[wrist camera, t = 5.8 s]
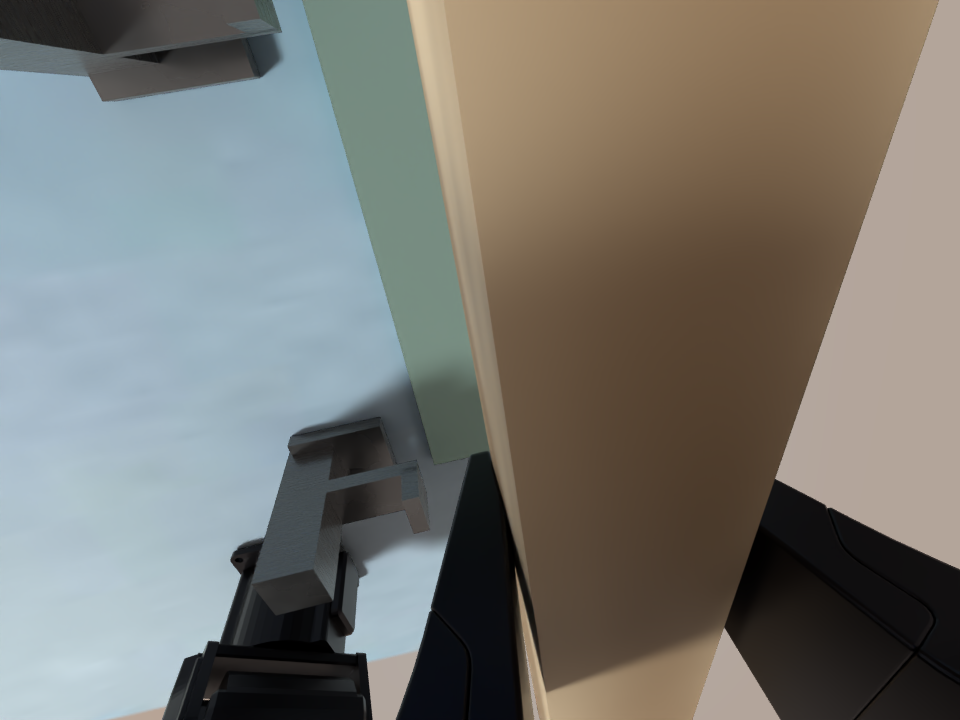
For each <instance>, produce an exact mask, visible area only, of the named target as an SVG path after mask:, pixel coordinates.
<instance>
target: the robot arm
mask: <svg viewBox="0 0 960 720" xmlns="http://www.w3.org/2000/svg"><path fill="white" fill-rule="evenodd" d="M262 545H263V544H261V545H256V546H252V547H248V548H244V549H240V550H236V551H234V552H233V554H232V557H231V560H230V561H231V563H232V564H233V565H234V566H235V568H236V569H237V570H238V571H239V573H240V574H241V577H240V580H239V584H238V587H237V590H236V593H235V596H234V599H233V602H232V606H231V609H230V612H229V615H228V618H227V621H226V624H225V627H224V631H223V634H222V637H221V640H220V643H219V642H217V641H208V643H207V645H206V647H205V649H204V651H203V653H198V654H197V655H194V656H191V657H188V658H185V659H184V661H183V664H182V666H181V669H180V672H179V674H178V677H177V680H176V682H175V685H174V688H173V690H172V693H171V696H170V699H169V701H168V704H167V707H166V710H165V712H164V715H163V718H162V720H372V709H371V700H370V689H369V680H368V670H367V659H366V653H356V654H345V653H344V650H345V639H346V636H348V635H351V634H352V633H353V631H354V628H355V614H356V601H357V587H358V586H359V578H358V571H357V569H356V567H355V565H354V563H353V561H352V560H351V558H350V556H349V554H348V553H347V552H346V551H344V550H343V548H342V546H341V544H340V549H339V557H338V565H337V574H336V582H335V591H334V599H333V601H332V602H328V603H324V604H320V605H316V606H312V607H308V608H304V609H300V610H296V611H292V612H288V613H284V614H280V615H275V614H274V613H273V611H272V610H271V609H270V608H269V606H268V605H267V604H266V602H265V601H264V600H263V599H262V597H261V596H260V595H259V594H258V592H257V591H256V590H255V589H254V587H253V586H252V585H251V583H252V579H253V576H254V573H255V569H256V566H257V562H258V559H259V556H260V552H261V549H262ZM431 610H432V611H430V612H429V615H428V619H427V623H426V627H425V631H424V635H423V638H422V642H421V645H420V648H419V652H418V656H417V659H416V662H415V666H414V669H413V672H412V675H411V678H410V681H409V684H408V687H407V689H406V692H405V695H404V698H403V701H402V704H401V707H400V710H399V712H398V715H397V717H396V720H534V715H533V708H532V699H531V691H530V683H529V675H528V667H527V659H526V651H525V643H524V635H523V627H522V619H521V611H520V603H519V595H518V587H517V579H516V571H515V564H514V558H513V553H512V547H511V541H510V536H509V530H508V524H507V519H506V513H505V507H504V502H503V498H502V495H501V491H500V488H499V485H498V481H497V478H496V474H495V471H494V467H493V464H492V461H491V455H490V452H489V451H482V452H478V453H474V454H471V455H470V457H469V461H468V465H467V469H466V472H465V476H464V480H463V484H462V488H461V492H460V496H459V500H458V504H457V507H456V511H455V515H454V519H453V523H452V527H451V531H450V535H449V538H448V542H447V546H446V550H445V554H444V558H443V562H442V566H441V570H440V573H439V577H438V581H437V585H436V589H435V593H434V597H433V601H432V604H431ZM724 628H725V629H726V631H727V632H728V634H729V636H730V638H731V639H732V641H733V642H734V644H735V646H736V647H737V649H738V651H739V652H740V654H741V655H742V657H743V659H744V660H745V662H746V664H747V665H748V667H749V669H750V670H751V672H752V674H753V675H754V677H755V678H756V680H757V682H758V683H759V685H760V687H761V688H762V690H763V692H764V693H765V695H766V697H767V698H768V700H769V701H770V703H771V705H772V706H773V708H774V710H775V711H776V713H777V715H778V716H779V718H780V719H781V720H960V569H958V568H955V567H953V566H951V565H949V564H946V563H944V562H942V561H940V560H937V559H935V558H933V557H931V556H929V555H926V554H924V553H922V552H920V551H918V550H915V549H914V548H911V547H909V546H907V545H905V544H903V543H901V542H898V541H896V540H894V539H892V538H890V537H888V536H886V535H884V534H882V533H879V532H878V531H876V530H874V529H872V528H870V527H868V526H866V525H864V524H862V523H860V522H858V521H856V520H854V519H852V518H850V517H848V516H846V515H844V514H842V513H840V512H838V511H837V510H835V509H833V508H827V507H826V505H824V504H822V503H821V502H819V501H817V500H815V499H813V498H811V497H809V496H807V495H805V494H803V493H801V492H799V491H797V490H796V489H794V488H792V487H790V486H788V485H786V484H784V483H782V482H780V481H778V480H776V479H775V480H774V483H773V486H772V489H771V492H770V495H769V497H768V500H767V503H766V506H765V509H764V512H763V515H762V518H761V521H760V524H759V527H758V530H757V532H756V535H755V538H754V541H753V544H752V547H751V550H750V553H749V556H748V559H747V562H746V565H745V567H744V570H743V573H742V576H741V579H740V582H739V585H738V588H737V591H736V594H735V597H734V600H733V602H732V605H731V608H730V611H729V614H728V617H727V620H726V623H725V626H724ZM203 698H204V699H210V700H203Z"/></svg>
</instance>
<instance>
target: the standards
mask: <svg viewBox="0 0 960 720" xmlns="http://www.w3.org/2000/svg"><path fill="white" fill-rule="evenodd" d="M280 32H282V31H281V27H280V24H279V21H278V18H277V15H276V11H275V8H274V5H273V2H272V0H0V70H12V71H24V72H37V73H50V74H63V75H76V76H88V77H90V79H91V81H92V83H93V84H94V86H95V88H96V90H97V92H98V94H99V96H100V97H101V99H102V101H121V100H128V99H134V98H140V97H146V96H152V95H159V94H165V93H171V92H177V91H183V90H190V89H196V88H202V87H208V86H214V85H221V84H227V83H233V82H239V81H245V80H252V79H258V78H260V75H259V72H258V69H257V66H256V64H255V61H254V58H253V55H252V52H251V49H250V47H249V44H248V41H247V38H248V37H254V36H261V35H267V34H274V33H280ZM288 449H289V451H290V453H289V457H288V460H287V463H286V467H285V470H284V474H283V477H282V480H281V484H280V487H279V491H278V494H277V498H276V501H275V504H274V508H273V511H272V515H271V518H270V521H269V525H268V528H267V532H266V535H265V538H264V542H263V545H262V549H261V552H260V556H259V559H258V562H257V566H256V569H255V573H254V576H253V579H252V583H251V585H252V586H253V587H254V589H255V590H256V591H257V592H258V594H259V595H260V596H261V597H262V599H263V600H264V601H265V602H266V604H267V605H268V606H269V608H270V609H271V610H272V611H273V613H274V614H275V615H280V614H284V613H288V612H292V611H296V610H300V609H304V608H308V607H312V606H316V605H320V604H324V603H328V602H332V601H333V599H334V591H335V582H336V574H337V565H338V557H339V549H340V540H341V532H342V525H343V524H347V523H351V522H355V521H359V520H363V519H368V518H372V517H376V516H380V515H384V514H389V513H393V512H397V511H401V510H405V511H406V514H407V516H408V519H409V522H410V525H411V527H412V530H413V533H414V534H416V533H420V532H424V531H428V530H430V526H429V514H428V502H427V492H426V489H425V486H424V482H423V479H422V476H421V473H420V470H419V466H418V463H417V460H414V461H410V462H405V463H401V464H397V463H396V461H395V458H394V455H393V452H392V449H391V446H390V444H389V441H388V438H387V435H386V432H385V429H384V427H383V424H382V421H381V418H380V417H378V418H373V419H369V420H364V421H360V422H355V423H351V424H346V425H342V426H337V427H333V428H328V429H324V430H319V431H315V432H310V433H306V434H301V435H297V436H292V437H290V440H289V443H288Z"/></svg>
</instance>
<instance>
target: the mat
mask: <svg viewBox="0 0 960 720" xmlns="http://www.w3.org/2000/svg"><path fill="white" fill-rule="evenodd" d="M302 1H303V5H304V8H305V12H306V15H307V19H308V22H309V26H310V29H311V33H312V36H313V40H314V43H315V47H316V50H317V54H318V57H319V61H320V64H321V68H322V71H323V75H324V78H325V82H326V85H327V89H328V92H329V96H330V99H331V103H332V107H333V110H334V114H335V117H336V121H337V124H338V128H339V131H340V135H341V138H342V142H343V145H344V149H345V152H346V156H347V159H348V163H349V166H350V170H351V173H352V177H353V180H354V184H355V187H356V191H357V194H358V198H359V201H360V205H361V209H362V212H363V216H364V219H365V223H366V226H367V230H368V233H369V237H370V240H371V244H372V247H373V251H374V254H375V258H376V261H377V265H378V268H379V272H380V275H381V279H382V282H383V286H384V289H385V293H386V296H387V300H388V303H389V307H390V311H391V314H392V318H393V321H394V325H395V328H396V332H397V335H398V339H399V342H400V346H401V349H402V353H403V356H404V360H405V363H406V367H407V370H408V374H409V377H410V381H411V384H412V388H413V391H414V395H415V398H416V402H417V405H418V409H419V413H420V416H421V420H422V423H423V427H424V430H425V434H426V437H427V441H428V444H429V448H430V451H431V455H432V458H433V462H434V465H437V464H442V463H446V462H450V461H455V460H459V459H463V458H467V457H470V455H471V454H474V453H478V452H482V451H489V452H490V450H489V444H488V439H487V433H486V428H485V423H484V417H483V412H482V406H481V401H480V396H479V390H478V385H477V379H476V374H475V369H474V363H473V358H472V352H471V347H470V341H469V336H468V331H467V325H466V320H465V314H464V309H463V304H462V298H461V293H460V287H459V282H458V276H457V271H456V266H455V260H454V255H453V249H452V244H451V239H450V233H449V228H448V222H447V217H446V212H445V206H444V201H443V195H442V190H441V184H440V179H439V174H438V168H437V163H436V157H435V152H434V147H433V141H432V136H431V130H430V125H429V120H428V114H427V109H426V103H425V98H424V92H423V87H422V82H421V76H420V71H419V65H418V60H417V55H416V49H415V44H414V38H413V33H412V28H411V22H410V17H409V11H408V6H407V0H302Z"/></svg>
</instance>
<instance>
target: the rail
mask: <svg viewBox="0 0 960 720" xmlns="http://www.w3.org/2000/svg"><path fill="white" fill-rule="evenodd" d="M938 1H939V0H407V6H408V11H409V17H410V22H411V28H412V33H413V38H414V44H415V49H416V55H417V60H418V65H419V71H420V76H421V82H422V87H423V92H424V98H425V103H426V109H427V114H428V120H429V125H430V130H431V136H432V141H433V147H434V152H435V157H436V163H437V168H438V174H439V179H440V184H441V190H442V195H443V201H444V206H445V212H446V217H447V222H448V228H449V233H450V239H451V244H452V249H453V255H454V260H455V266H456V271H457V276H458V282H459V287H460V293H461V298H462V304H463V309H464V314H465V320H466V325H467V331H468V336H469V341H470V347H471V352H472V358H473V363H474V369H475V374H476V379H477V385H478V390H479V396H480V401H481V406H482V412H483V417H484V423H485V428H486V433H487V439H488V444H489V450H490V455H491V461H492V464H493V467H494V471H495V474H496V478H497V481H498V485H499V488H500V491H501V495H502V498H503V502H504V507H505V513H506V519H507V524H508V530H509V536H510V541H511V547H512V553H513V558H514V564H515V571H516V579H517V587H518V595H519V603H520V611H521V619H522V627H523V634H524V639H525V645H526V650H527V655H528V661H529V666H530V671H531V677H532V682H533V688H534V693H535V698H536V704H537V709H538V713H539V718H540V720H692V719H693V716H694V713H695V710H696V707H697V704H698V702H699V699H700V696H701V693H702V690H703V687H704V684H705V681H706V678H707V675H708V672H709V670H710V667H711V663H712V661H713V658H714V655H715V652H716V649H717V646H718V643H719V640H720V637H721V635H722V632H723V629H724V626H725V623H726V620H727V617H728V614H729V611H730V608H731V605H732V602H733V600H734V597H735V594H736V591H737V588H738V585H739V582H740V579H741V576H742V573H743V570H744V567H745V565H746V562H747V559H748V556H749V553H750V550H751V547H752V544H753V541H754V538H755V535H756V532H757V530H758V527H759V524H760V521H761V518H762V515H763V512H764V509H765V506H766V503H767V500H768V497H769V495H770V492H771V489H772V486H773V483H774V480H775V477H776V474H777V471H778V468H779V465H780V462H781V460H782V457H783V453H784V451H785V448H786V445H787V442H788V439H789V436H790V433H791V430H792V428H793V425H794V421H795V419H796V416H797V413H798V410H799V407H800V404H801V401H802V398H803V395H804V392H805V390H806V386H807V384H808V381H809V378H810V375H811V372H812V369H813V366H814V363H815V360H816V358H817V354H818V352H819V349H820V346H821V343H822V340H823V337H824V334H825V331H826V328H827V325H828V323H829V320H830V317H831V314H832V311H833V308H834V305H835V302H836V299H837V296H838V293H839V290H840V287H841V284H842V282H843V279H844V276H845V273H846V270H847V267H848V264H849V261H850V258H851V255H852V253H853V250H854V246H855V244H856V241H857V238H858V235H859V232H860V229H861V226H862V223H863V220H864V218H865V215H866V212H867V209H868V206H869V203H870V200H871V197H872V194H873V191H874V188H875V185H876V183H877V180H878V177H879V174H880V171H881V168H882V165H883V162H884V159H885V156H886V153H887V150H888V147H889V145H890V142H891V139H892V136H893V133H894V130H895V127H896V124H897V121H898V118H899V116H900V112H901V109H902V107H903V103H904V101H905V98H906V95H907V92H908V89H909V86H910V83H911V81H912V78H913V75H914V71H915V68H916V66H917V63H918V60H919V57H920V54H921V51H922V48H923V46H924V42H925V40H926V37H927V34H928V31H929V28H930V25H931V22H932V19H933V16H934V13H935V11H936V8H937V5H938Z"/></svg>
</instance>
